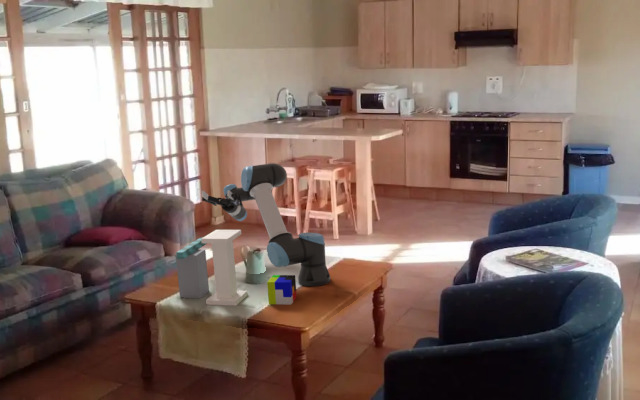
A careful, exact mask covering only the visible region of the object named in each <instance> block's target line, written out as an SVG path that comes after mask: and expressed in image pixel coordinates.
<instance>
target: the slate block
mask: <svg viewBox="0 0 640 400" xmlns="http://www.w3.org/2000/svg"><path fill="white" fill-rule="evenodd" d="M206 252H207V251H206V249H203V248H200V249H198V250H196V251H195V252H193V253H192V254H190V255H189V256H187V257H186V258H184V259H177V255H176V254H175V261H176V263H175V264H176V273H177V281H178V291H179V292H178V293H179V298H180V297H184V299H201V298H202V297H204V296H205V295H206V294H207V293H209V292H210V288H209V287H210V285H209V275H208V274H209V273H208V265H207V264H208V262H207V253H206ZM208 291H209V292H208Z"/></svg>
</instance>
